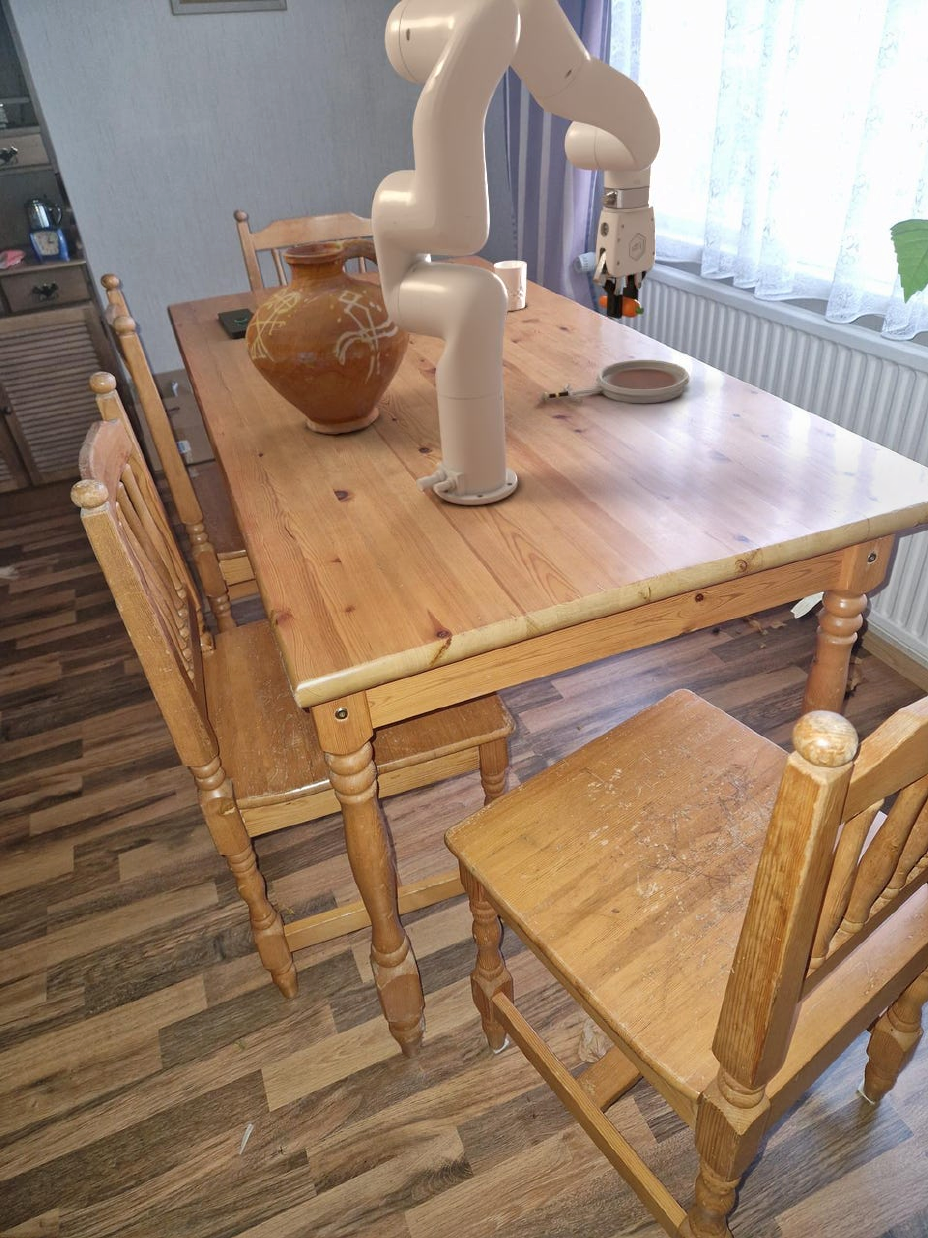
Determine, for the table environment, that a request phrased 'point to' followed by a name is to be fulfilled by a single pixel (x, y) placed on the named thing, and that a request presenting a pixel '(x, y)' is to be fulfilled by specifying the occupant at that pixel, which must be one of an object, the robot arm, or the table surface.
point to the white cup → (513, 282)
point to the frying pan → (635, 382)
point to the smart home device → (236, 322)
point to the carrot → (626, 306)
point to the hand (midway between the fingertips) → (621, 313)
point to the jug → (328, 338)
